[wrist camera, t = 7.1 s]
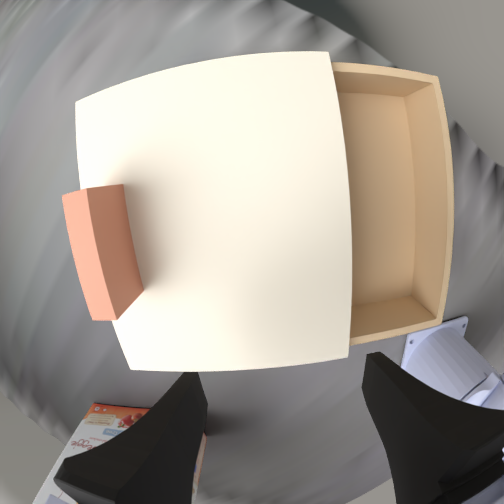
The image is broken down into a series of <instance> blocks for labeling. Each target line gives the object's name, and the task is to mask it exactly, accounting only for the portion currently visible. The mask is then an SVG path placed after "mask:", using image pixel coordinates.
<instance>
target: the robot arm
mask: <svg viewBox="0 0 504 504" xmlns="http://www.w3.org/2000/svg"><path fill="white" fill-rule="evenodd" d="M467 323H468V318H467V317H466V316H463V317H460V318H457V319H454V320H450V321H447V322H444V323H441V324H440V325H437V326H433V327H430V328H426V329H423V330H419V331H415V332H411V333H409V334H408V335H407V340H406V345H405V350H404V354H403V359H402V363H401V367H400V366H398V365H397V364H396V363H394V362H393V361H392V360H390V359H389V358H388V357H386V356H385V355H384V354H382V353H381V352H375V353H370V354H367V357H366V364H365V371H364V377H363V383H362V391H363V394H364V398H365V401H366V405H367V407H368V410H369V412H370V414H371V417H372V419H373V421H374V423H375V426H376V428H377V430H378V433H379V435H380V437H381V440H382V442H383V445H384V447H385V450H386V454H387V457H388V461H389V465H390V469H391V474H392V478H393V483H394V489H395V496H396V503H397V504H504V373H503V374H502V375H500V374H499V373H498V372H497V371H496V370H495V369H494V368H493V367H492V366H491V365H490V364H489V363H488V362H487V361H486V360H485V358H484V357H483V356H482V355H481V354H480V353H479V352H478V351H477V350H476V349H475V348H473V347H472V346H471V345H470V344H469V343H468V342H467V341H466V340H465V339H464V334H465V330H466V327H467ZM411 340H412V341H411ZM410 341H411V342H410ZM207 405H208V403H207V400H206V397H205V394H204V391H203V388H202V385H201V381H200V378H199V375H198V372H184V373H183V374H182V375H181V376H180V377H179V378H178V380H177V381H176V382H175V383H174V384H173V385H172V387H171V388H170V389H169V390H168V391H167V392H166V393H165V394H164V395H163V396H162V398H161V399H160V400H159V401H158V402H157V403H156V404H155V405H154V406H153V407H152V408H151V409H150V410H149V411H148V412H147V413H146V414H144V415H143V416H142V417H141V418H140V419H139V420H138V421H136V422H135V423H134V424H133V425H131V426H130V427H129V428H127V429H126V430H124V431H123V432H121V433H120V434H118V435H116V436H115V437H113V438H112V439H110V440H108V441H107V442H105V443H103V444H101V445H99V446H97V447H94V448H92V449H90V450H87V451H85V452H82V453H79V454H76V455H73V456H70V457H67V458H65V459H64V460H63V462H62V464H61V466H60V467H59V469H58V471H57V473H56V475H55V476H54V478H53V480H54V483H55V484H56V485H57V486H58V487H59V488H60V489H61V490H62V491H63V492H65V493H66V494H67V495H68V496H70V497H71V498H72V499H73V500H75V501H76V502H77V503H78V504H192V491H193V480H194V471H195V466H196V461H197V457H198V453H199V449H200V445H201V441H202V437H203V433H204V428H205V424H206V416H207ZM45 504H69V503H67V502H65V501H63V500H61V499H59V498H57V497H56V496H54V495H52V494H50V495H49V497H48V498H47V500H46V503H45Z"/></svg>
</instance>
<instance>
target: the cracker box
mask: <svg viewBox="0 0 504 504" xmlns="http://www.w3.org/2000/svg"><path fill="white" fill-rule="evenodd" d="M149 410H150V409H141V408H130V407H119V406H110V405H103V404H96V403H93V405H92V406H91V408H90V409H89V411H88V412H87V414H86V415H85V417H84V418H83V420H82V421H81V423H80V424H79V426H78V428H77V429H76V431H75V432H74V434H73V435H72V437H71V439H70V440H69V442H68V443H67V445H66V447H65V449H64V450H63V452H62V453H61V455H60V457H59V458H58V460H57V462H56V463H55V465H54V467H53V468H52V470H51V472H50V474H49V475H48V477H47V478H46V480H45V482H44V484H43V485H42V487H41V489H40V491H39V493H38V494H37V496H36V498H35V500H34V502H33V503H32V504H45V503H46V500H47V498H48V497H49V495H50V494H52V495H54V496H56V497H57V498H59V499H61V500H63V501H65V502H67V503H69V504H78V503H77V502H76V501H75V500H73V499H72V498H71V497H70V496H68V495H67V494H66V493H65V492H63V491H62V490H61V489H60V488H59V487H58V486H57V485H56V484H55V483H54V480H53V478H54V476H55V475H56V473H57V471H58V469H59V467H60V466H61V464H62V462H63V460H64V459H65V458H67V457H70V456H73V455H76V454H79V453H82V452H85V451H87V450H90V449H92V448H94V447H97V446H99V445H101V444H103V443H105V442H107V441H108V440H110V439H112V438H113V437H115V436H116V435H118V434H120V433H121V432H123V431H124V430H126V429H127V428H129V427H130V426H131V425H133V424H134V423H135V422H136V421H138V420H139V419H140V418H141V417H142V416H143V415H144V414H146V413H147V412H148V411H149ZM206 441H207V437H206V435H205V433H203V437H202V441H201V445H200V449H199V453H198V457H197V461H196V466H195V471H194V480H193V491H192V504H194V503H195V498H196V492H197V487H198V482H199V477H200V472H201V467H202V462H203V456H204V451H205V446H206Z"/></svg>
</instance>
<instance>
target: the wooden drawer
mask: <svg viewBox="0 0 504 504" xmlns="http://www.w3.org/2000/svg"><path fill="white" fill-rule="evenodd" d="M331 66H332V70H333V75H334V80H335V85H336V91H337V96H338V102H339V108H340V114H341V121H342V128H343V135H344V143H345V151H346V161H347V170H348V182H349V195H350V211H351V234H352V300H351V323H350V339H349V346H351V345H356V344H361V343H366V342H371V341H376V340H381V339H386V338H390V337H394V336H399V335H403V334H407V333H411V332H415V331H419V330H423V329H426V328H430V327H433V326H437V325H440V324H441V323H442V318H443V313H444V308H445V303H446V297H447V291H448V284H449V277H450V268H451V259H452V247H453V230H454V182H453V166H452V154H451V145H450V137H449V130H448V123H447V117H446V111H445V106H444V101H443V97H442V92H441V88H440V84H439V80H438V77H437V76H433V75H428V74H424V73H419V72H413V71H408V70H403V69H397V68H390V67H383V66H375V65H366V64H355V63H339V62H331Z"/></svg>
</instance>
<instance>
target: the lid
mask: <svg viewBox="0 0 504 504" xmlns="http://www.w3.org/2000/svg"><path fill="white" fill-rule="evenodd" d="M76 142H77V157H78V168H79V178H80V186H81V190H78V191H75V192H72V193H68V194H65V195H62V199H63V206H64V212H65V218H66V224H67V229H68V234H69V239H70V243H71V248H72V252H73V256H74V260H75V264H76V268H77V272H78V276H79V279H80V283H81V286H82V289H83V293H84V296H85V299H86V302H87V305H88V308H89V311H90V314H91V317H92V320H112V322H113V325H114V328H115V331H116V334H117V336H118V339H119V342H120V344H121V347H122V349H123V352H124V355H125V357H126V359H127V362H128V364H129V367H130V369H133V370H151V371H231V370H249V369H262V368H273V367H283V366H292V365H301V364H308V363H316V362H322V361H329V360H335V359H341V358H347V357H348V352H349V339H350V323H351V300H352V234H351V211H350V195H349V182H348V170H347V161H346V151H345V143H344V135H343V128H342V121H341V114H340V108H339V102H338V96H337V91H336V85H335V80H334V75H333V70H332V66H331V61H330V57H329V52H314V51H300V52H273V53H260V54H249V55H240V56H233V57H225V58H219V59H213V60H207V61H202V62H197V63H192V64H187V65H183V66H179V67H174V68H170V69H166V70H163V71H159V72H155V73H152V74H149V75H145V76H142V77H139V78H136V79H133V80H130V81H127V82H124V83H121V84H118V85H115V86H113V87H110V88H107V89H105V90H102V91H100V92H97V93H95V94H93V95H90V96H88V97H86V98H83V99H81V100H79V101H77V102H76Z"/></svg>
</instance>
